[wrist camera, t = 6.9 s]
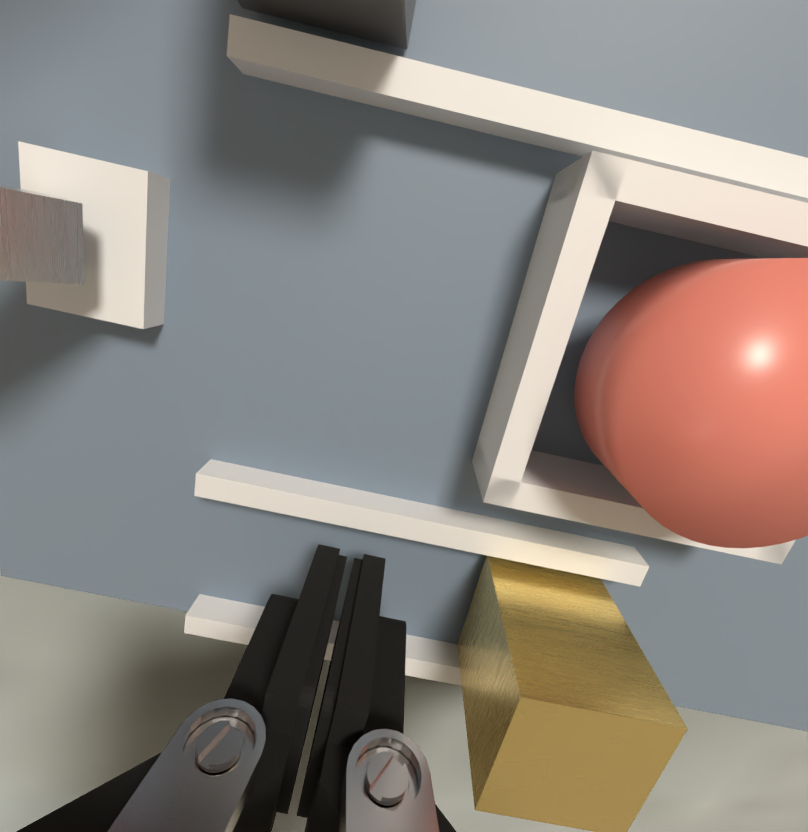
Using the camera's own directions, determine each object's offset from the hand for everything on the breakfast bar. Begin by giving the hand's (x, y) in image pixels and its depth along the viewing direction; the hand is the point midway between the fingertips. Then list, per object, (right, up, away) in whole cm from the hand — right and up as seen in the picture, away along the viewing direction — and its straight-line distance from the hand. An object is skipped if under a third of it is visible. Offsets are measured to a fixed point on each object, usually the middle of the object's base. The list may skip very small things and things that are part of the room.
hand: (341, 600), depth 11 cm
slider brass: (+5, -1, +1) cm, 5 cm away
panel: (+4, +7, +2) cm, 8 cm away
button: (+7, +5, -3) cm, 9 cm away
